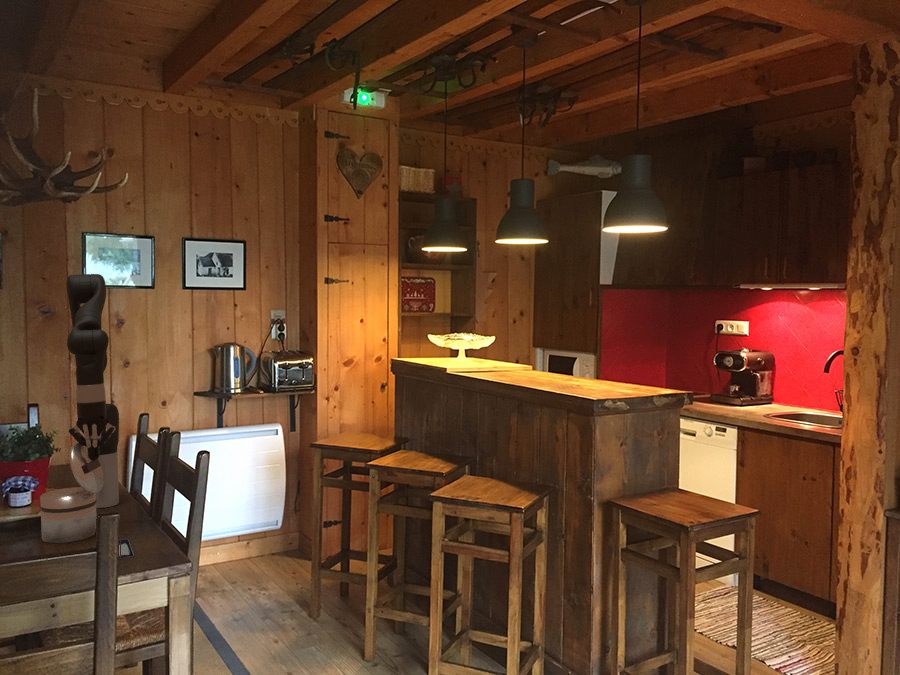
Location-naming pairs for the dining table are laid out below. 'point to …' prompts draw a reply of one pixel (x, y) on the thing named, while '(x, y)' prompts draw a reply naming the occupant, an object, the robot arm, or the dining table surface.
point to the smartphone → (125, 548)
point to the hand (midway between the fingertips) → (94, 459)
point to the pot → (67, 515)
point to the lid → (85, 469)
